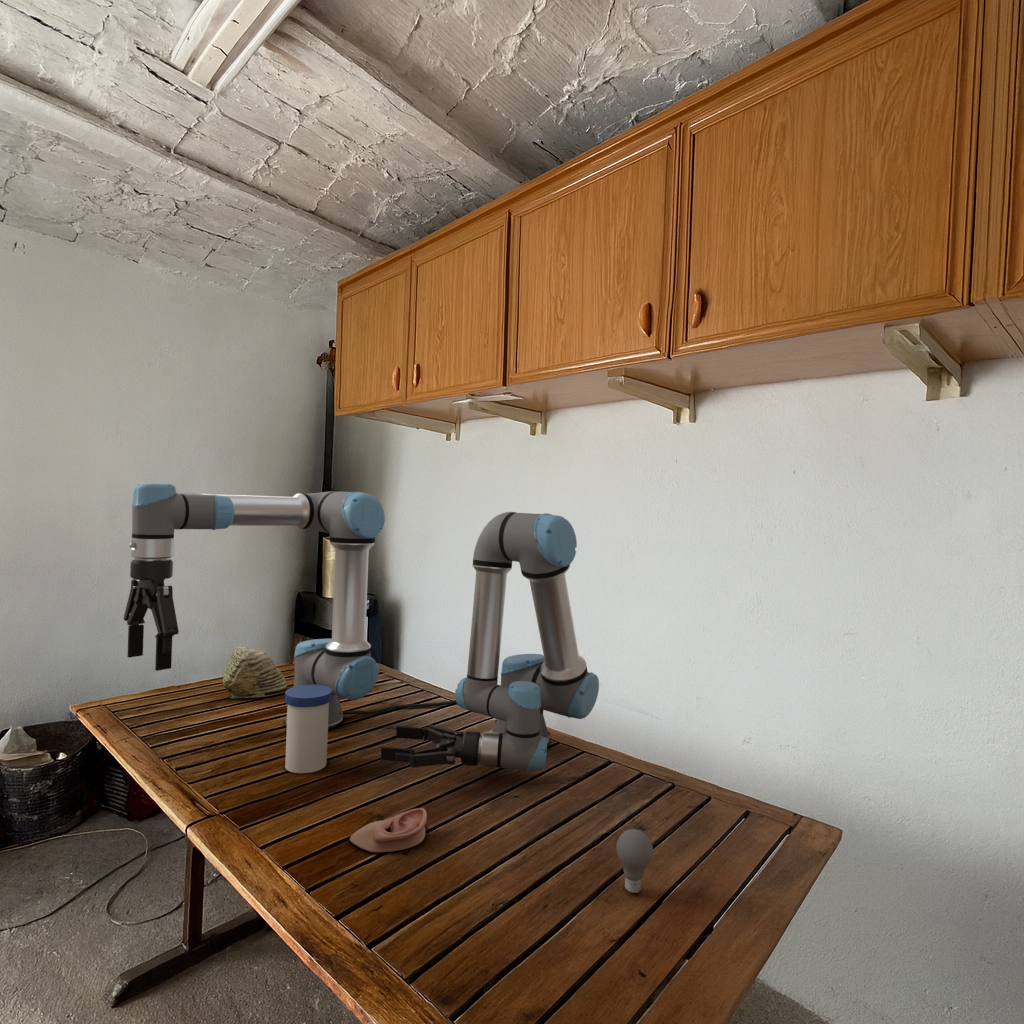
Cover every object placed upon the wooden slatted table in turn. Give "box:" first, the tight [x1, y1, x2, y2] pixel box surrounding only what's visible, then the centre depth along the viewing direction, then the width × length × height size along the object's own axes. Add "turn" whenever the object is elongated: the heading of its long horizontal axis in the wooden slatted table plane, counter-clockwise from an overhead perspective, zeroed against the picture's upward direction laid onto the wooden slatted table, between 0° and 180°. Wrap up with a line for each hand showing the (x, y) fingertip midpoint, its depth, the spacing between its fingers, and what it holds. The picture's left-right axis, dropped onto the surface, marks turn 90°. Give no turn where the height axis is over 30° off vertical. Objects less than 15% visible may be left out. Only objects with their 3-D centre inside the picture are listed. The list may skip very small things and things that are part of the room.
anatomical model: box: [349, 807, 428, 853], centre depth 119 cm, size 13×4×12 cm
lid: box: [284, 685, 332, 707], centre depth 149 cm, size 11×11×2 cm
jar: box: [284, 703, 329, 774], centre depth 149 cm, size 9×9×17 cm
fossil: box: [222, 646, 288, 699], centre depth 198 cm, size 9×18×15 cm, turn 132°
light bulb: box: [615, 828, 654, 894], centre depth 106 cm, size 6×6×10 cm
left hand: (148, 662), depth 129 cm, fingers open, 13 cm apart
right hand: (389, 742), depth 147 cm, fingers open, 13 cm apart
